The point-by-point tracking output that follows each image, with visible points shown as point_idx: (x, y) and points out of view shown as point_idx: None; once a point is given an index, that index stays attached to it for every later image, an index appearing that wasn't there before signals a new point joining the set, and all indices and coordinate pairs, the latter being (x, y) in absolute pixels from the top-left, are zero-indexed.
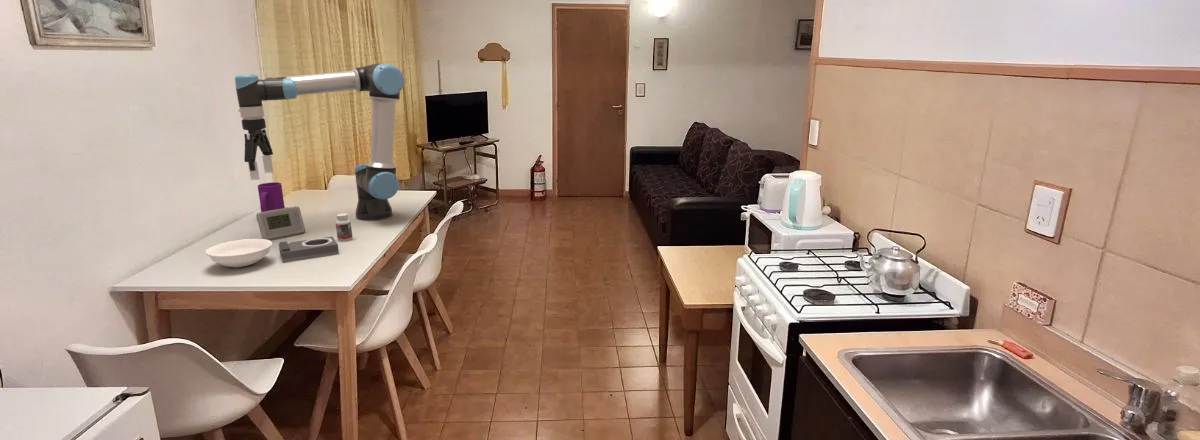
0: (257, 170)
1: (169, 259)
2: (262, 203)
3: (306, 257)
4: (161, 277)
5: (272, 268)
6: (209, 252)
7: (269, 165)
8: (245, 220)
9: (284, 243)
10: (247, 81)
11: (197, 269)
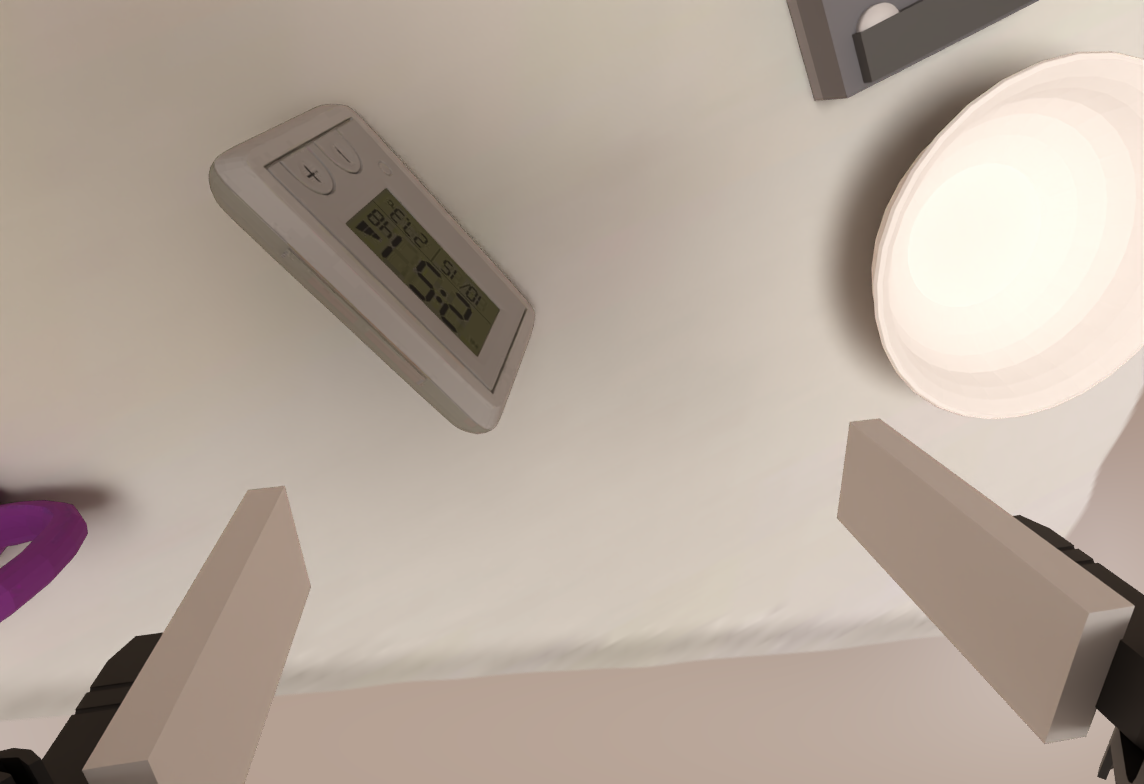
0: (977, 490)
1: (777, 607)
2: (26, 585)
3: None
4: (1026, 501)
5: (1098, 23)
6: (1044, 388)
7: (251, 595)
8: (28, 652)
9: (911, 29)
10: None
11: (968, 417)
